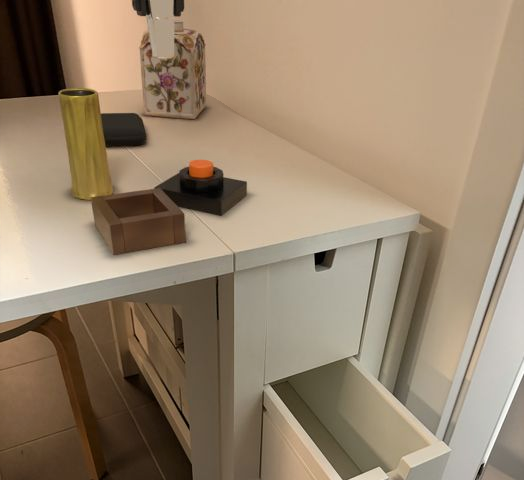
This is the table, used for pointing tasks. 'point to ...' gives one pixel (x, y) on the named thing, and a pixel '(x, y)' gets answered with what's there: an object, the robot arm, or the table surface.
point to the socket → (138, 220)
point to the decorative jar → (175, 76)
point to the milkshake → (161, 27)
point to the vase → (85, 143)
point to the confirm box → (204, 191)
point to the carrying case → (123, 129)
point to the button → (201, 168)
